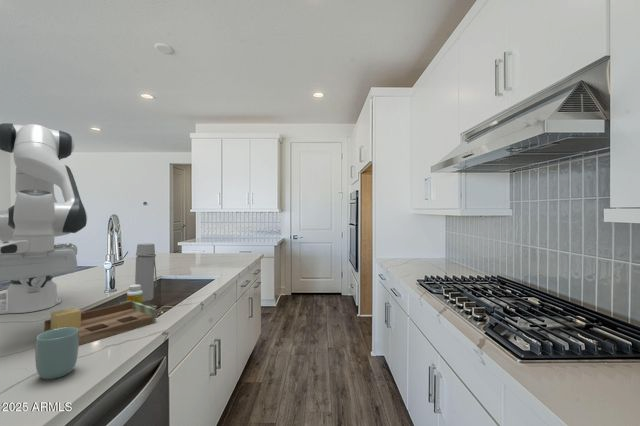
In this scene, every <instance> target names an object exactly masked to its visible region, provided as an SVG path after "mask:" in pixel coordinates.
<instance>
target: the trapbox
mask: <svg viewBox="0 0 640 426" xmlns="http://www.w3.org/2000/svg"><path fill="white" fill-rule="evenodd" d="M156 316H157V308H156V307H152V306H149V305H146V304H143V303H142V304H140V303H137V302H134V301H131V300H130V301H127V300H126V301H122V302H118V304H115V305H110V306H105V307H102V308H97V309H91V310H87V311H83V312H82V311H81V326H80V327H76V328H77V329H78V330H79V345H78V347H79V346H81V345H85V344H88V343H92V342H95V341H98V340H99V341H100V340H102V339H105V338H108V337H111V336H116V335H118V334H121V333H125V332H129V331H132V330H135V329H140V328H143V327H146V326H149V325H152V324H155V323H157V322H156V321H157V319H156V318H157V317H156ZM50 325H51V318H50V319H45V320H44V331H43V332H45V331H49V330H51V329H50Z"/></svg>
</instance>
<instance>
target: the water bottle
mask: <svg viewBox="0 0 640 426" xmlns="http://www.w3.org/2000/svg"><path fill="white" fill-rule="evenodd" d="M135 256H136V257H135V272H134V274H135V280H134V285H141V289H140V290H142V292H143V297H142V303H146V302H150V301H152V300H153V299H154V289H155V288H156V287H157V284H158V280H157V269H156V268H157V265H156V256H157V254H156V249H155V244H154V243H149V242H147V243H146V242H145V243H138V244H137V247H136V254H135Z"/></svg>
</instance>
